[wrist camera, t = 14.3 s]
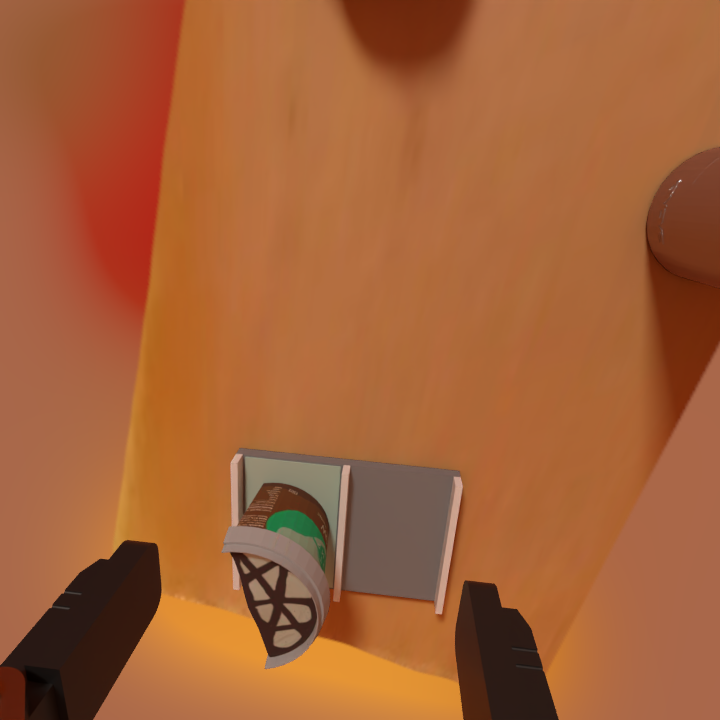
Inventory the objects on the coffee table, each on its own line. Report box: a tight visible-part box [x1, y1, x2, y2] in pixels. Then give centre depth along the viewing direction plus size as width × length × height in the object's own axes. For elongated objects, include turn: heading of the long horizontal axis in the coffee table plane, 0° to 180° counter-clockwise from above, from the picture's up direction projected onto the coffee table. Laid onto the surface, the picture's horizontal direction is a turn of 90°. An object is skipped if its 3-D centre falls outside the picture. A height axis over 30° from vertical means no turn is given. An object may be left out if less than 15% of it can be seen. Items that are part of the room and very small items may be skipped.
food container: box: [222, 483, 330, 669], centre depth 40 cm, size 12×6×10 cm, turn 12°
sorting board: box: [231, 448, 463, 614], centre depth 44 cm, size 20×14×2 cm
